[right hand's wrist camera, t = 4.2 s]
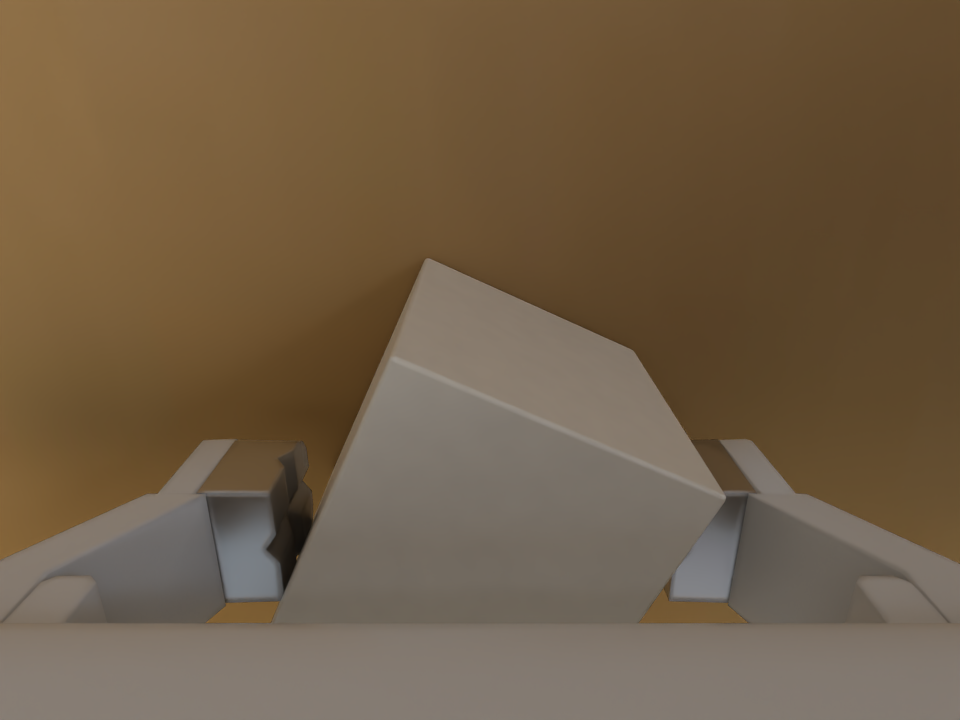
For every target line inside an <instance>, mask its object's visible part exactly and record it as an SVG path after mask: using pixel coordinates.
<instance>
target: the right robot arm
mask: <svg viewBox="0 0 960 720" xmlns="http://www.w3.org/2000/svg"><path fill="white" fill-rule="evenodd" d="M691 442H692V444H693V445H694V447H695V448H696V450H697V451H698V453H699V455H700V456H701V458H702V459H703V461H704V462H705V464H706V466H707V467H708V469H709V470H710V472H711V474H712V475H713V477H714V478H715V480H716V481H717V483H718V485H719V486H720V488H721V489H722V491H723V492H724V494H725V496H726V500H725V502H724V503H723V505H722V506H721V508H720V509H719V511H718V512H717V513H716V515H715V516H714V518H713V519H712V520H711V522H710V523H709V525H708V526H707V527H706V529H705V530H704V532H703V533H702V534H701V536H700V537H699V539H698V540H697V542H696V543H695V544H694V546H693V547H692V549H691V550H690V551H689V553H688V554H687V556H686V557H685V558H684V560H683V561H682V563H681V564H680V565H679V567H678V568H677V570H676V571H675V573H674V574H673V575H672V577H671V578H670V580H669V581H668V582H667V584H666V585H665V587H664V589H665V592H666V594H667V597H668V599H669V601H684V602H721V603H728V606H730V607H731V608H732V609H733V610H734V611H735V612H737V613H738V614H739V615H740V616H741V617H742V618H744V619H745V620H746V621H747V622H748V623H206V622H207V621H208V620H209V619H210V618H212V617H213V616H214V615H215V614H216V613H218V612H219V611H220V610H221V609H222V608H224V607H225V606H226V604H225V603H233V602H268V601H281V599H282V597H283V594H284V592H285V589H286V587H287V584H288V582H289V580H290V577H291V575H292V572H293V570H294V567H295V565H296V562H297V560H296V556H297V555H299V554H300V552H301V550H302V547H303V545H304V543H305V540H306V538H307V535H308V533H309V530H310V528H311V525H312V522H313V499H312V491H311V489H310V488H309V487H308V486H307V485H306V484H305V483H304V482H303V481H302V480H303V478H304V476H305V474H306V471H307V469H308V467H309V464H308V457H307V450H306V446H305V445H304V443H303V441H288V440H238V439H215V440H203V441H202V442H201V443H200V444H199V445H198V446H197V448H196V449H195V450H194V451H193V452H192V454H191V455H190V456H189V457H188V458H187V459H186V461H185V462H184V463H183V464H182V465H181V467H180V468H179V469H178V470H177V471H176V472H175V474H174V475H173V476H172V477H171V478H170V479H169V481H168V482H167V483H166V484H165V485H164V487H163V488H162V489H161V490H160V491H159V492H158V494H145V495H143V496H141V497H139V498H136V499H134V500H132V501H130V502H128V503H125V504H123V505H121V506H119V507H117V508H114V509H112V510H110V511H108V512H105V513H103V514H101V515H99V516H97V517H94V518H92V519H90V520H88V521H86V522H83V523H81V524H79V525H77V526H74V527H72V528H70V529H68V530H66V531H63V532H61V533H59V534H57V535H55V536H52V537H50V538H48V539H46V540H43V541H41V542H39V543H37V544H35V545H32V546H30V547H28V548H26V549H24V550H21V551H19V552H17V553H15V554H13V555H10V556H8V557H6V558H4V559H1V560H0V720H960V564H959V563H957V562H955V561H952V560H950V559H948V558H946V557H944V556H941V555H939V554H937V553H935V552H933V551H931V550H928V549H926V548H924V547H922V546H920V545H917V544H915V543H913V542H911V541H909V540H906V539H904V538H902V537H900V536H898V535H896V534H893V533H891V532H889V531H887V530H885V529H882V528H880V527H878V526H876V525H874V524H872V523H869V522H867V521H865V520H863V519H861V518H858V517H856V516H854V515H852V514H850V513H847V512H845V511H843V510H841V509H839V508H837V507H834V506H832V505H830V504H828V503H826V502H823V501H821V500H819V499H817V498H815V497H812V496H810V495H808V494H796V493H795V492H794V491H793V489H792V488H791V487H790V486H789V485H788V483H787V482H786V481H785V480H784V479H783V477H782V476H781V475H780V474H779V473H778V471H777V470H776V469H775V468H774V467H773V465H772V464H771V463H770V462H769V461H768V459H767V458H766V457H765V456H764V455H763V453H762V452H761V451H760V450H759V449H758V447H757V446H756V445H755V444H754V443H753V441H750V440H748V439H730V440H718V439H714V440H691Z"/></svg>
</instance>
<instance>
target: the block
mask: <svg viewBox="0 0 960 720" xmlns="http://www.w3.org/2000/svg"><path fill="white" fill-rule="evenodd" d="M725 500H726V496H725V494H724V492H723V491H722V489H721V488H720V486H719V485H718V483H717V481H716V480H715V478H714V477H713V475H712V474H711V472H710V470H709V469H708V467H707V466H706V464H705V462H704V461H703V459H702V458H701V456H700V455H699V453H698V451H697V450H696V448H695V447H694V445H693V444H692V442H691V440H690V439H689V437H688V436H687V434H686V433H685V431H684V429H683V428H682V426H681V425H680V423H679V422H678V420H677V418H676V417H675V415H674V414H673V412H672V411H671V409H670V407H669V406H668V404H667V403H666V401H665V399H664V398H663V396H662V395H661V393H660V392H659V390H658V388H657V387H656V385H655V384H654V382H653V381H652V379H651V377H650V376H649V374H648V373H647V371H646V370H645V368H644V366H643V365H642V363H641V362H640V360H639V359H638V357H637V355H636V354H635V352H634V351H633V350H631V349H629V348H627V347H625V346H623V345H620V344H618V343H616V342H614V341H612V340H609V339H607V338H605V337H603V336H600V335H598V334H596V333H594V332H592V331H589V330H587V329H585V328H583V327H580V326H578V325H576V324H574V323H572V322H569V321H567V320H565V319H563V318H561V317H558V316H556V315H554V314H552V313H549V312H547V311H545V310H543V309H541V308H538V307H536V306H534V305H532V304H529V303H527V302H525V301H523V300H521V299H518V298H516V297H514V296H512V295H509V294H507V293H505V292H503V291H501V290H498V289H496V288H494V287H492V286H490V285H487V284H485V283H483V282H481V281H478V280H476V279H474V278H472V277H470V276H467V275H465V274H463V273H461V272H458V271H456V270H454V269H452V268H450V267H447V266H445V265H443V264H441V263H438V262H436V261H434V260H432V259H430V258H426V259H425V260H424V263H423V265H422V267H421V270H420V272H419V274H418V276H417V279H416V281H415V283H414V286H413V288H412V290H411V293H410V295H409V297H408V299H407V302H406V304H405V306H404V309H403V311H402V313H401V315H400V318H399V320H398V322H397V325H396V327H395V329H394V332H393V334H392V336H391V338H390V341H389V343H388V345H387V348H386V350H385V352H384V355H383V357H382V359H381V361H380V364H379V366H378V368H377V371H376V373H375V375H374V378H373V380H372V382H371V384H370V387H369V389H368V391H367V394H366V396H365V398H364V400H363V403H362V405H361V407H360V410H359V412H358V414H357V417H356V419H355V421H354V423H353V426H352V428H351V430H350V433H349V435H348V437H347V440H346V442H345V444H344V446H343V449H342V451H341V453H340V456H339V458H338V460H337V463H336V465H335V467H334V469H333V472H332V474H331V477H330V479H329V482H328V484H327V486H326V489H325V491H324V494H323V496H322V499H321V501H320V504H319V506H318V509H317V511H316V513H315V516H314V518H313V522H312V525H311V528H310V530H309V533H308V535H307V538H306V540H305V543H304V545H303V547H302V550H301V552H300V554H299V555H298V558H297V562H296V565H295V567H294V570H293V572H292V575H291V577H290V580H289V582H288V584H287V587H286V589H285V592H284V594H283V597H282V599H281V601H280V602H279V604H278V607H277V609H276V612H275V614H274V617H273V619H272V621H271V623H639V622H640V620H641V619H642V618H643V616H644V615H645V613H646V612H647V611H648V609H649V608H650V606H651V605H652V603H653V602H654V601H655V599H656V598H657V596H658V595H659V594H660V592H661V591H662V589H663V588H664V587H665V585H666V584H667V582H668V581H669V580H670V578H671V577H672V575H673V574H674V573H675V571H676V570H677V568H678V567H679V565H680V564H681V563H682V561H683V560H684V558H685V557H686V556H687V554H688V553H689V551H690V550H691V549H692V547H693V546H694V544H695V543H696V542H697V540H698V539H699V537H700V536H701V534H702V533H703V532H704V530H705V529H706V527H707V526H708V525H709V523H710V522H711V520H712V519H713V518H714V516H715V515H716V513H717V512H718V511H719V509H720V508H721V506H722V505H723V503H724V502H725Z"/></svg>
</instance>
